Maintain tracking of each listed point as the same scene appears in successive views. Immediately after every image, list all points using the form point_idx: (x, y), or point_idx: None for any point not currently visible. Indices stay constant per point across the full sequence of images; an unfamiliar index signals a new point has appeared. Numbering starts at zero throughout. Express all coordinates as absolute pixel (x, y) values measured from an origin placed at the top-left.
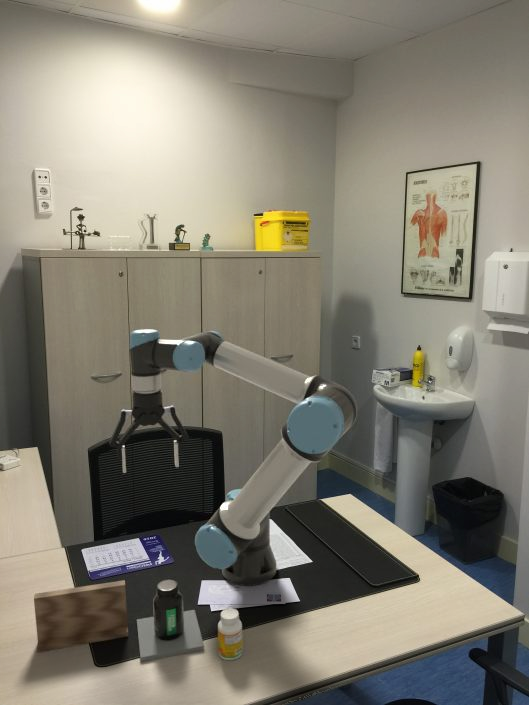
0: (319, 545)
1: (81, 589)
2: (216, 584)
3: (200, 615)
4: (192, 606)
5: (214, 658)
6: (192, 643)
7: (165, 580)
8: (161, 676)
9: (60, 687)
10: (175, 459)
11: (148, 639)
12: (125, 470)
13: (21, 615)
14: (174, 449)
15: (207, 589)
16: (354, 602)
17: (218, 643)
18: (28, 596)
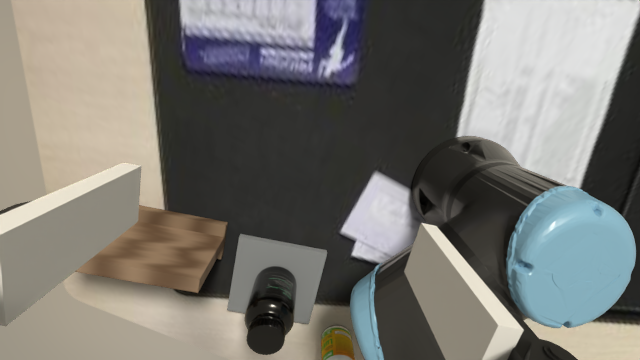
0: (625, 168)
1: (117, 272)
2: (390, 196)
3: (332, 257)
4: (330, 233)
5: (314, 336)
6: (296, 315)
7: (266, 327)
8: (246, 336)
9: (128, 305)
10: (419, 291)
11: (245, 284)
12: (127, 227)
13: (59, 127)
14: (453, 297)
15: (370, 202)
16: (534, 324)
17: (321, 348)
18: (63, 68)
